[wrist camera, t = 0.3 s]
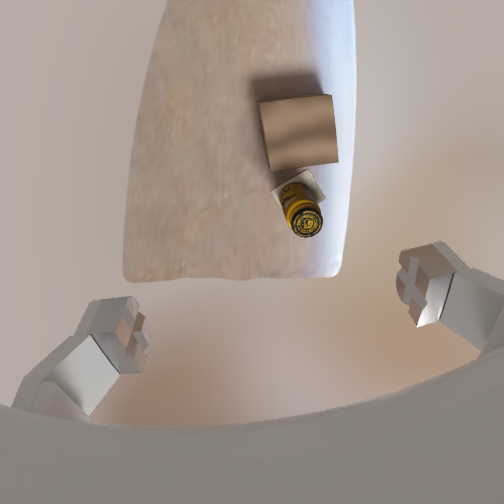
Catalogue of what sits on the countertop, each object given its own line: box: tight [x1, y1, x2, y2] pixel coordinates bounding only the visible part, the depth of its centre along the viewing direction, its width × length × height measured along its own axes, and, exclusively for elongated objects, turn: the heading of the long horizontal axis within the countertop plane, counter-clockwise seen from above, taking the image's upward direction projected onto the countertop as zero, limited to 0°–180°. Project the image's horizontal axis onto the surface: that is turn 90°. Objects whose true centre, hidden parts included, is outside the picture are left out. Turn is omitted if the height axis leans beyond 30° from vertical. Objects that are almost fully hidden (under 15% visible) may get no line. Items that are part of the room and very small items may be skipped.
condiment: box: [271, 169, 326, 238], centre depth 52 cm, size 7×8×12 cm
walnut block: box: [257, 94, 339, 172], centre depth 48 cm, size 12×12×5 cm
